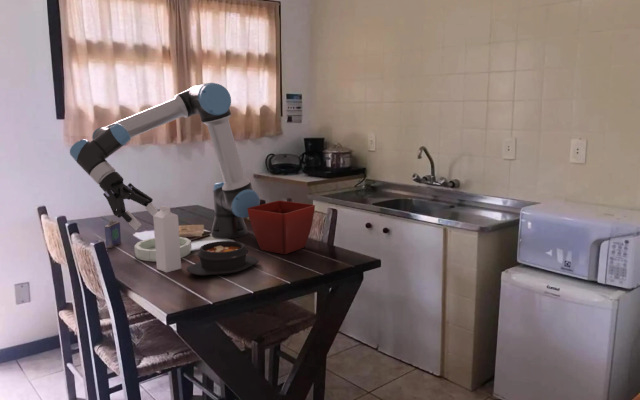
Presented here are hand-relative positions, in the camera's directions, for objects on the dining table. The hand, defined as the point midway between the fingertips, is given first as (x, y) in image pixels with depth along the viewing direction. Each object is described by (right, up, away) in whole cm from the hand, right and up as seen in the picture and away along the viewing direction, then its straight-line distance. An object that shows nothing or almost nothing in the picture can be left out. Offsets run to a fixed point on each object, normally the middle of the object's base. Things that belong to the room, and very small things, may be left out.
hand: (149, 223), depth 179 cm
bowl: (-1, -13, +21) cm, 24 cm away
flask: (-25, -11, +33) cm, 43 cm away
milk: (+6, -16, +3) cm, 17 cm away
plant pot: (+43, -11, +26) cm, 52 cm away
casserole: (+25, -16, +1) cm, 30 cm away
